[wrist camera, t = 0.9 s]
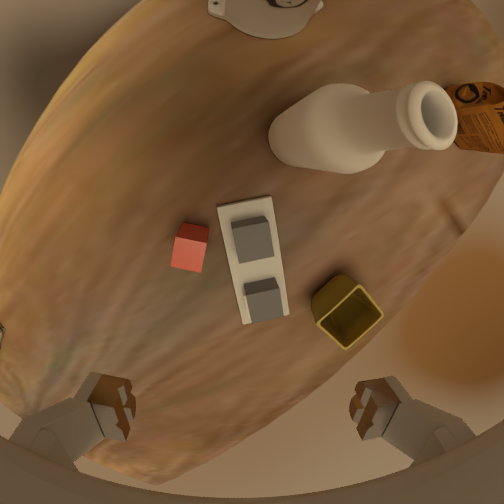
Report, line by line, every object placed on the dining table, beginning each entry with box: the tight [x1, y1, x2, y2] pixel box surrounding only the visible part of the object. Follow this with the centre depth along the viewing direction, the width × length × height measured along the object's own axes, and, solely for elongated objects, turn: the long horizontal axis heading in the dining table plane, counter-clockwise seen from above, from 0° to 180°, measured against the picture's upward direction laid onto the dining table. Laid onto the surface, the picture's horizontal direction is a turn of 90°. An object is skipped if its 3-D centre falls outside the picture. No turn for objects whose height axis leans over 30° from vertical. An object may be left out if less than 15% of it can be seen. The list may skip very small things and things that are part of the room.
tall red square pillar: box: [171, 222, 209, 273], centre depth 39 cm, size 4×4×8 cm
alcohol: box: [268, 81, 458, 174], centre depth 25 cm, size 9×9×30 cm
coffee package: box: [445, 82, 504, 154], centre depth 30 cm, size 10×12×22 cm
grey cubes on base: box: [217, 196, 289, 324], centre depth 42 cm, size 20×8×6 cm, turn 10°
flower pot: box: [311, 275, 384, 350], centre depth 44 cm, size 9×9×9 cm
